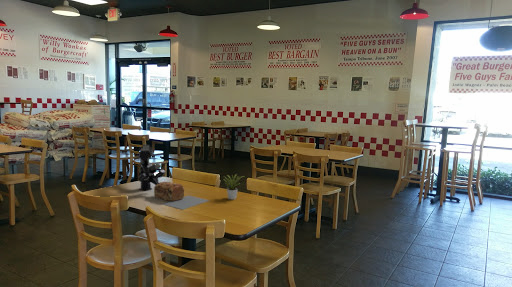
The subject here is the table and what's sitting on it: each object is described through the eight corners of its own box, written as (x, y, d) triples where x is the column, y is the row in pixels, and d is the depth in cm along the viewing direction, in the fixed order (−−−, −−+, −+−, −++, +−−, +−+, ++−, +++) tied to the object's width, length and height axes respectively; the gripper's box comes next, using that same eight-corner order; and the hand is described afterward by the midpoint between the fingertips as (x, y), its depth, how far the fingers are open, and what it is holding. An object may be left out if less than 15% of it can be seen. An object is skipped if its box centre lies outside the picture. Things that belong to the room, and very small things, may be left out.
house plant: (241, 194, 247) (242, 171, 245) (247, 200, 234) (247, 175, 232) (220, 195, 243) (221, 171, 241) (225, 201, 230) (226, 176, 228)
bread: (184, 199, 231) (184, 183, 230) (170, 202, 223) (170, 186, 221) (167, 193, 243) (166, 179, 242) (153, 196, 235) (153, 181, 233)
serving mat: (160, 204, 220) (160, 203, 220) (188, 196, 240) (188, 195, 240) (182, 210, 210) (182, 209, 210) (209, 201, 230) (209, 200, 230)
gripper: (141, 161, 230) (152, 180, 225) (163, 157, 246) (175, 176, 241) (133, 171, 235) (144, 191, 231) (155, 167, 251) (166, 185, 246)
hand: (158, 185), depth 237 cm, fingers closed
